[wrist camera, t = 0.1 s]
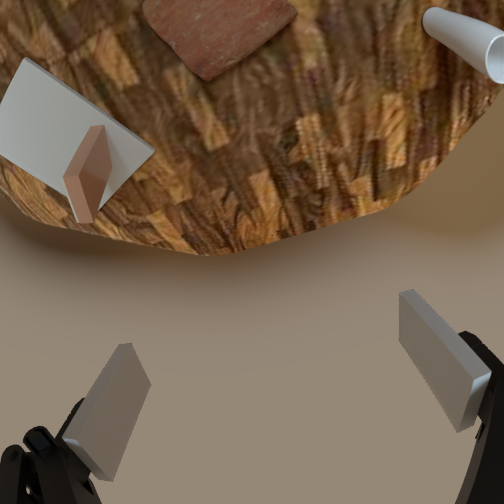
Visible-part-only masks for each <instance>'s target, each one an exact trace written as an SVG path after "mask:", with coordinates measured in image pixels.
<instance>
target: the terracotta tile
mask: <svg viewBox="0 0 504 504" xmlns="http://www.w3.org/2000/svg"><path fill="white" fill-rule="evenodd" d="M111 171H112V163H111V158H110V153H109V148H108V143H107V137H106V132H105V126H104V125H97V126H90V128H89V129H88V130H87V132H86V134H85V135H84V137H83V139H82V140H81V142H80V144H79V146H78V147H77V149H76V151H75V153H74V155H73V156H72V158H71V160H70V162H69V164H68V166H67V168H66V170H65V172H64V174H63V176H62V178H61V180H62V183H63V186H64V189H65V192H66V194H67V197H68V200H69V203H70V205H71V208H72V210H73V213H74V216H75V218H76V221H77V223H78V222H79V223H94V221H95V218H96V215H97V211H98V208H99V205H100V202H101V199H102V196H103V193H104V190H105V187H106V184H107V182H108V179H109V176H110V173H111Z"/></svg>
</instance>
